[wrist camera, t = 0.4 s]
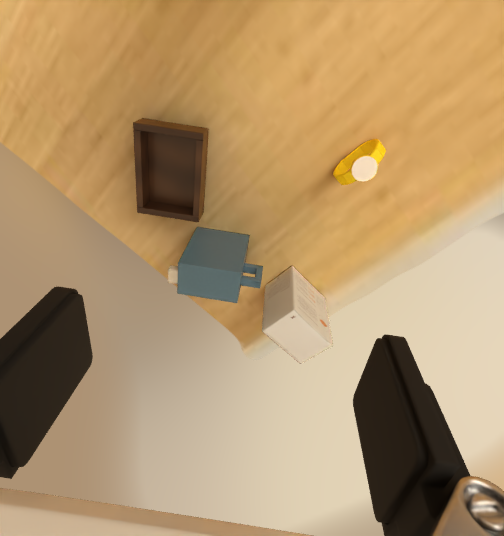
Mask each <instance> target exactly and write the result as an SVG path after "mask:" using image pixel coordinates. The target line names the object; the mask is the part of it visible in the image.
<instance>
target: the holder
mask: <svg viewBox="0 0 504 536" xmlns="http://www.w3.org/2000/svg"><path fill="white" fill-rule="evenodd" d="M133 128H134V151H135V172H136V193H137V212H138V213H144V214H150V215H156V216H162V217H169V218H175V219H181V220H187V221H194V222H199V220H200V218H201V217H202V215H203V212H204V195H205V179H206V163H207V147H208V131H209V129H208V128H202V127H195V126H189V125H183V124H176V123H170V122H164V121H158V120H151V119H145V118H142V119H140V120H138V121H136V122H133Z"/></svg>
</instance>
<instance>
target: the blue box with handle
mask: <svg viewBox="0 0 504 536" xmlns="http://www.w3.org/2000/svg"><path fill="white" fill-rule="evenodd" d="M248 242H249V235H245V234H239V233H232V232H226V231H220V230H214V229H207V228H201V227H197V228H196V230H195V232H194V234H193V236H192V237H191V239H190V241H189V243H188V245H187V247H186V249H185V251H184V253H183V255H182V256H181V258H180V260H179V262H178V266H172V265H170V267H169V269H168V282H169V283H174V284H178V288H177V293H178V294H184V295H190V296H196V297H202V298H209V299H215V300H221V301H227V302H233V303H237V302H238V297H239V292H240V287H241V285H242V286H248V287H255V288H260V286H261V279H262V270H263V266H259V265H253V264H247V263H245V262H246V256H247V249H248ZM243 272H244V273H250V274H256V275H255V277H248V276H243Z"/></svg>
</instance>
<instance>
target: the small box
mask: <svg viewBox="0 0 504 536" xmlns="http://www.w3.org/2000/svg"><path fill="white" fill-rule="evenodd" d="M262 332H263V333H264V334H266V335H267V336H268V337H269V338H270V339H271V340H273V341H274V342H275V343H276V344H277V345H279V346H280V347H281V348H282V349H283V350H285V351H286V352H287V353H288V354H289V355H291V356H292V357H293V358H294V359H295V360H296V361H297V362H299V363H300V364H301V363H303V362H305V361H307V360H309V359H311V358H312V357H314V356H316V355H318V354H320V353H321V352H323V351H325V350H327V349H328V348H330V347H332V346H333V342H332V335H331V329H330V323H329V317H328V312H327V306H326V300H325V297H324V296H323V295H322V294H320V293H319V292H318V291H317V290H316V289H315V288H314V287H313V286H312V285H311V284H310V283H309V282H308V281H307V280H306V279H305V278H304V277H303V276H302V275H301V274H300V273H299V272H298V271H297V270H296V269H295V268H294V267H293V266H291V267H290V268H289V269H287V270H286V271H285V272H283V273H282V274H280V275H279V276H278V277H276V278H275V279H274V280H272V281H271V282H269V283H268V284H267V285H265V295H264V309H263V323H262Z"/></svg>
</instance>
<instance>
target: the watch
mask: <svg viewBox="0 0 504 536" xmlns="http://www.w3.org/2000/svg"><path fill="white" fill-rule="evenodd" d="M385 152H386V150H385V148H384V147H383V145H382V144H381V142H380V141H379V140H378V139H373V140H369V141H367V142H365V143H363V144H361V145H360V146H359V147H357V148H356V149H355V150H354V151H353V152H351V153H350V154H349V155H348V156H347V157H345V158H344V159H343V160H341V161H340V163H339V164H338V165H337V167H336V168H335V170H334V173H333V175H334V177H335V178H336V179H337V180H338V182H339V183H340V184H341V185H347V184H351V183H353V182H355V181H357V180H358V181H360V182H365V181H369V180H370V179H372V178H373V177H374V176H375V175H376V173H377V170H378V164H379V162H380V161H381V160H382V159H383V157H384V154H385ZM369 153H370V155H367V154H369ZM349 168H351V170H349V171H348V169H349ZM347 171H348V172H347Z"/></svg>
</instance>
